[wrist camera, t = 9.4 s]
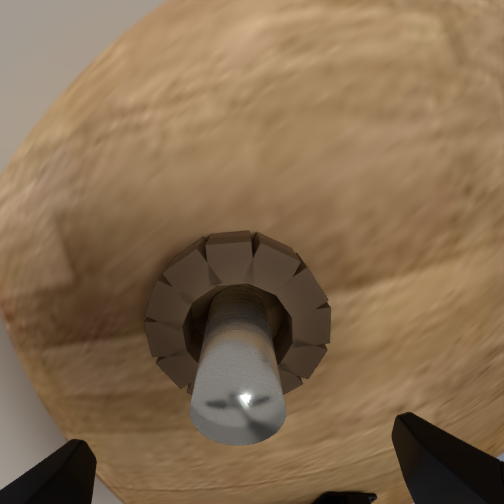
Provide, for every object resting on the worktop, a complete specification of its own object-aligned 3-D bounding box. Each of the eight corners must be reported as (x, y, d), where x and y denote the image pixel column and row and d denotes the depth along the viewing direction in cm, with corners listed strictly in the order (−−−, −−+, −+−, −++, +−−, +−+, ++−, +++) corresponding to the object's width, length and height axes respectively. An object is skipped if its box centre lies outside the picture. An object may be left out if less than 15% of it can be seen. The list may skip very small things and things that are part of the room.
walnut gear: (272, 393, 18) (277, 422, 15) (139, 342, 17) (126, 367, 14) (345, 273, 16) (363, 290, 14) (195, 203, 15) (186, 209, 13)
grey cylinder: (251, 344, 17) (259, 453, 9) (201, 323, 17) (177, 428, 9) (275, 299, 16) (303, 397, 9) (223, 276, 16) (210, 366, 8)
